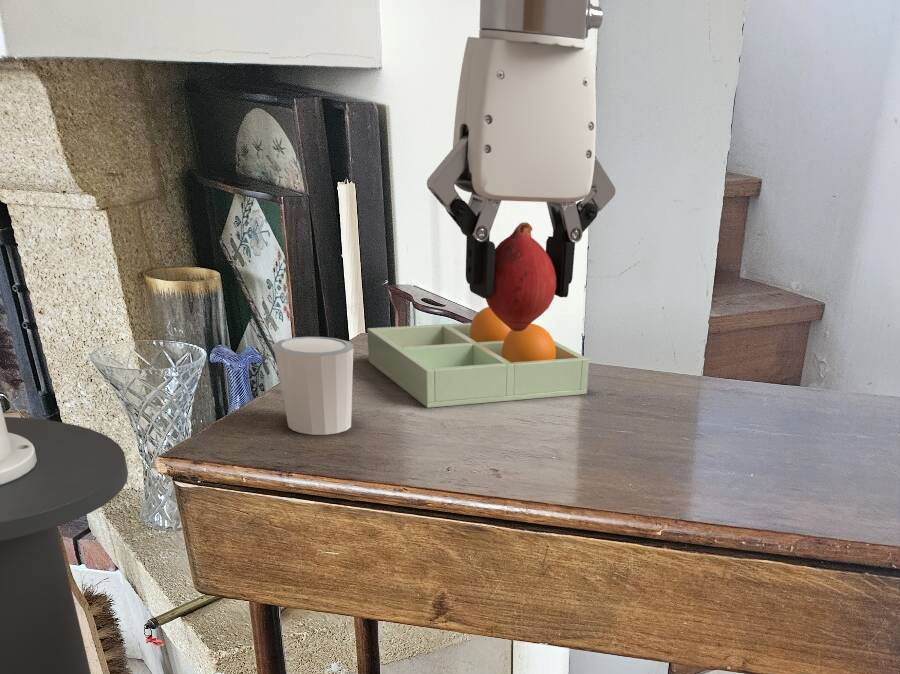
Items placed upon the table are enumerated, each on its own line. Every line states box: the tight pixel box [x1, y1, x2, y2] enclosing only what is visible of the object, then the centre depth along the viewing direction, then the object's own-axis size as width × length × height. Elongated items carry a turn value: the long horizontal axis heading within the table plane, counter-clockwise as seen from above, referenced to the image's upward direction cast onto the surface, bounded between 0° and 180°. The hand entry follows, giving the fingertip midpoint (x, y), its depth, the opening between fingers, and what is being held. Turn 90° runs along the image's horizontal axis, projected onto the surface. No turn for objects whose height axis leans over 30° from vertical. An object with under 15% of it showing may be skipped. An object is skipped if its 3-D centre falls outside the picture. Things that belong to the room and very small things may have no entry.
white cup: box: [273, 336, 354, 436], centre depth 92 cm, size 7×7×7 cm
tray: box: [366, 322, 590, 409], centre depth 109 cm, size 18×18×4 cm
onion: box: [484, 221, 556, 332], centre depth 82 cm, size 6×6×8 cm
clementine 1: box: [470, 306, 511, 342], centre depth 113 cm, size 6×6×6 cm
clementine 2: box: [502, 323, 556, 363], centre depth 107 cm, size 6×6×6 cm
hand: (518, 292), depth 82 cm, fingers closed on onion, 5 cm apart
